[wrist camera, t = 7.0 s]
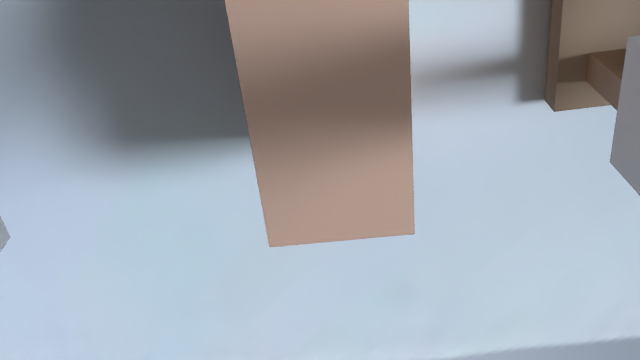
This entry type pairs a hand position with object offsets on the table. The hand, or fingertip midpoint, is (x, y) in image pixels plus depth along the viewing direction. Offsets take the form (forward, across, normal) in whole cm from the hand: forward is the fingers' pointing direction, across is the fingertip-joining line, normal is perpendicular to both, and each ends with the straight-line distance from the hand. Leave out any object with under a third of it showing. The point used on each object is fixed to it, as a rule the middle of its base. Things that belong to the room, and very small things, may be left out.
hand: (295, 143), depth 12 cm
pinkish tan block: (+10, +1, +4) cm, 10 cm away
